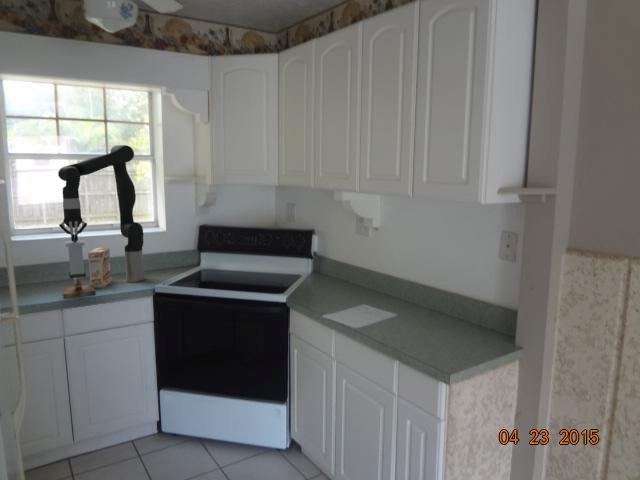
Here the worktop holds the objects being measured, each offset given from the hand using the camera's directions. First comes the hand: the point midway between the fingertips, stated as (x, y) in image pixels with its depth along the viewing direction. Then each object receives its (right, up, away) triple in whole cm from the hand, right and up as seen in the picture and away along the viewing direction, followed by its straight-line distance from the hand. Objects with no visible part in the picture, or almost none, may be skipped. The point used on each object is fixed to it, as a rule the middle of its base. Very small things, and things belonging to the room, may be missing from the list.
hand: (74, 241), depth 232 cm
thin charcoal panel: (0, -17, +3) cm, 18 cm away
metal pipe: (0, -24, +4) cm, 25 cm away
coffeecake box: (+3, -24, +22) cm, 32 cm away
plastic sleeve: (0, -16, +3) cm, 16 cm away
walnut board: (0, -26, +4) cm, 27 cm away
